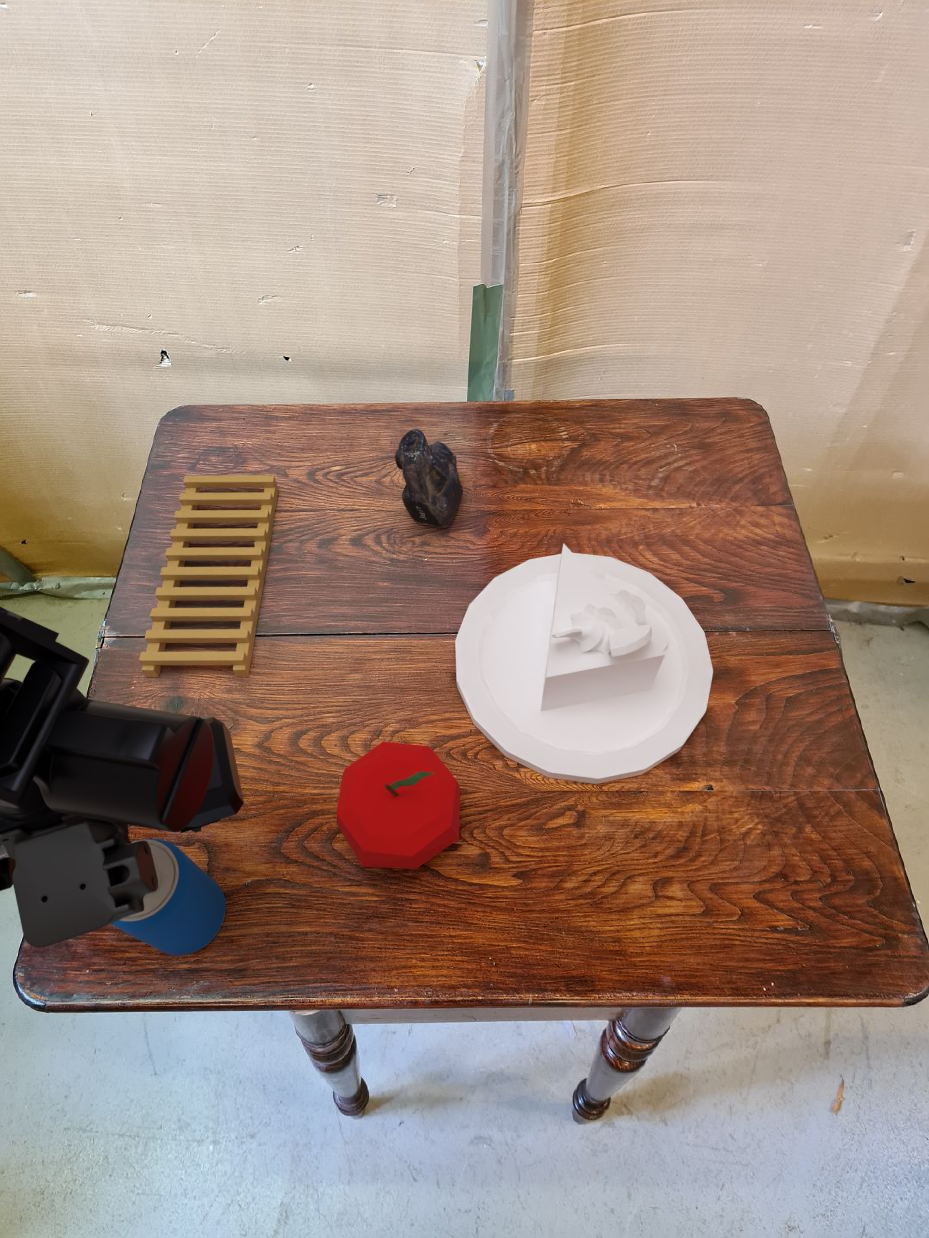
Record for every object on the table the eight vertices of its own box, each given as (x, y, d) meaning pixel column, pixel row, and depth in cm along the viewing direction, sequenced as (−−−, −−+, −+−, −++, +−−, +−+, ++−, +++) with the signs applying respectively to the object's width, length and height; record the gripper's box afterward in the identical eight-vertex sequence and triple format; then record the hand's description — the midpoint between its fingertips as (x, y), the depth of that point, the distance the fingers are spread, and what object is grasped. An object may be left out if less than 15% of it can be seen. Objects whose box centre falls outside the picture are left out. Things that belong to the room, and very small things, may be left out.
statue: (476, 477, 91) (476, 374, 78) (441, 557, 85) (435, 460, 72) (430, 466, 92) (423, 362, 79) (392, 544, 86) (378, 445, 73)
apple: (356, 900, 66) (339, 868, 58) (332, 783, 72) (313, 739, 63) (478, 864, 68) (479, 828, 59) (445, 752, 73) (441, 705, 65)
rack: (248, 677, 78) (242, 664, 75) (146, 677, 78) (137, 665, 76) (278, 490, 90) (274, 474, 88) (191, 490, 90) (184, 475, 88)
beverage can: (167, 868, 68) (114, 825, 58) (239, 884, 67) (198, 843, 57) (136, 947, 64) (73, 916, 54) (211, 965, 64) (161, 936, 54)
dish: (749, 752, 73) (791, 697, 64) (484, 807, 70) (486, 758, 61) (660, 543, 86) (684, 472, 76) (433, 583, 83) (428, 514, 74)
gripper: (-172, 977, 37) (-3, 1013, 51) (223, 848, 40) (285, 914, 54) (-155, 765, 43) (-7, 847, 56) (191, 666, 46) (254, 766, 59)
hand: (132, 846), depth 56 cm, fingers open, 9 cm apart
